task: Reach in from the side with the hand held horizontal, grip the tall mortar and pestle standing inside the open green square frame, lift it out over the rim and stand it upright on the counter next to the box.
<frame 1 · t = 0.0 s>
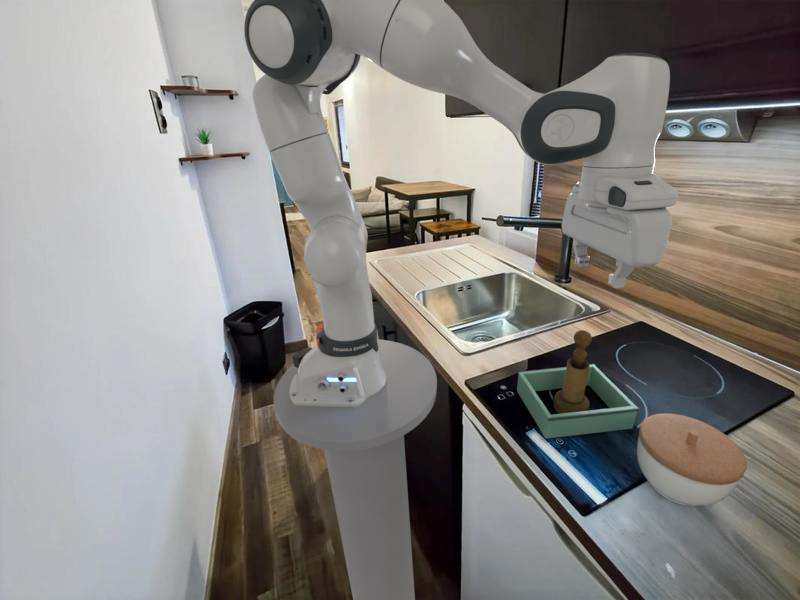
hand: (597, 275, 58), 31 cm above the worktop, tool pointing down, fingers open, 8 cm apart
green square frame: (570, 408, 74), on the worktop
mortar and pestle: (570, 409, 75), resting in green square frame
lidded bowl: (674, 485, 58), on the worktop
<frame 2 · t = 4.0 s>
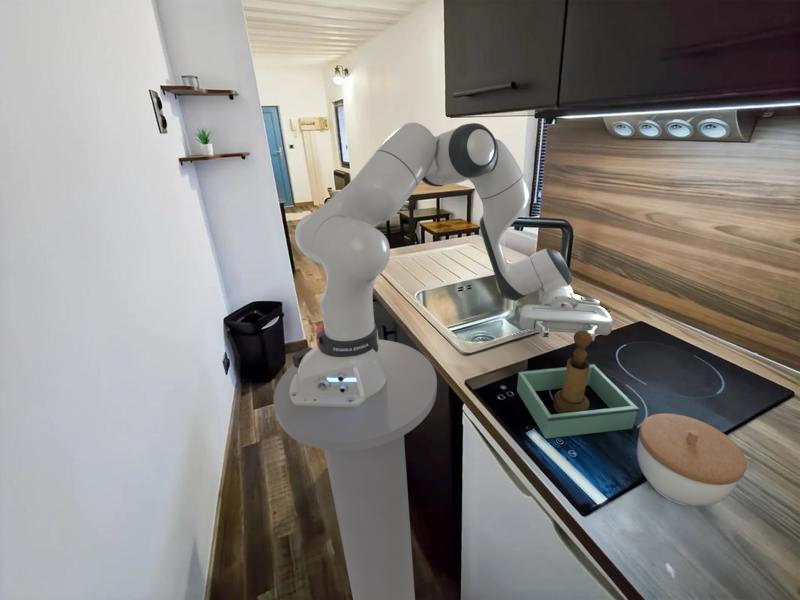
hand: (567, 336, 81), 10 cm above the worktop, tool horizontal, fingers open, 8 cm apart
nothing on the worktop moved.
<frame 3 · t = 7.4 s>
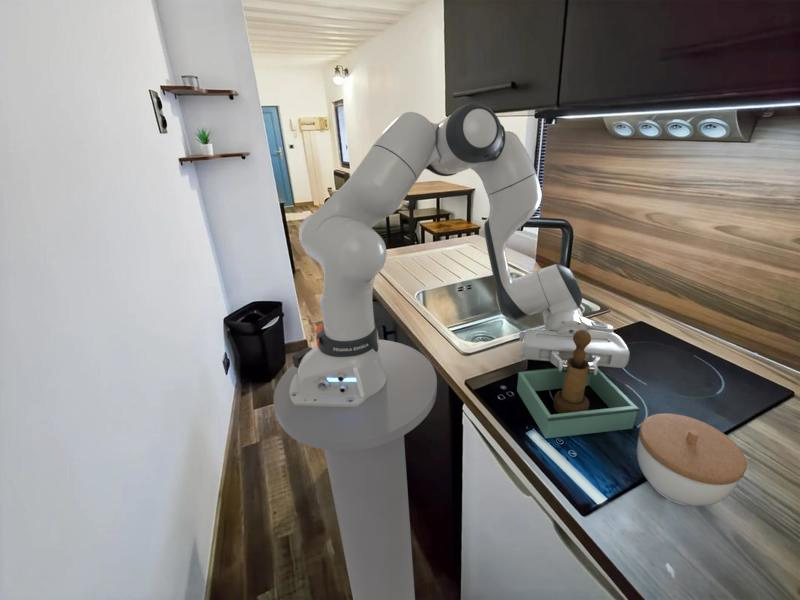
hand: (578, 370, 69), 10 cm above the worktop, tool horizontal, fingers closed on mortar and pestle, 4 cm apart
mortar and pestle: (570, 409, 75), resting in green square frame, touching gripper
everything else where it was.
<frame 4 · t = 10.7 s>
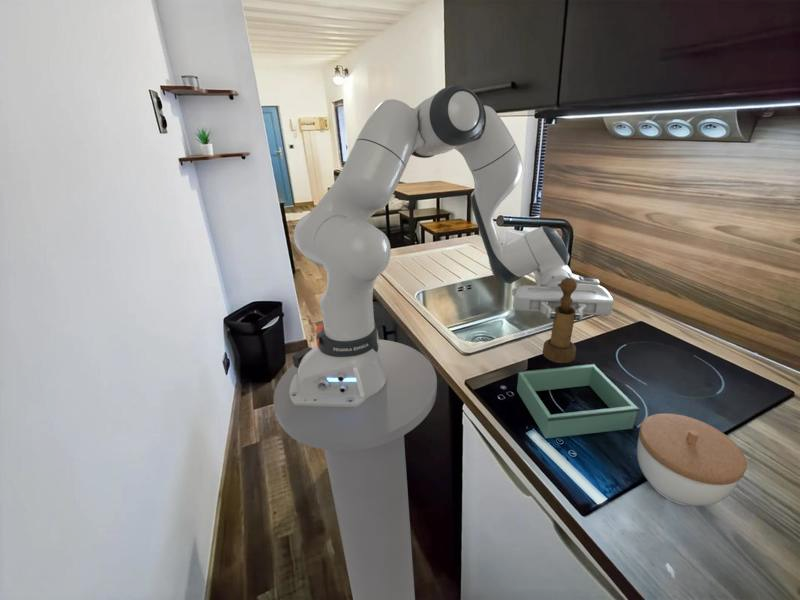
hand: (565, 316, 75), 17 cm above the worktop, tool horizontal, fingers closed on mortar and pestle, 4 cm apart
mortar and pestle: (558, 355, 80), point 7 cm above the worktop, touching gripper
everything else where it was.
when the fingers open (10 cm above the worktop, at t = 13.9 s): mortar and pestle stays where it is, on the worktop.
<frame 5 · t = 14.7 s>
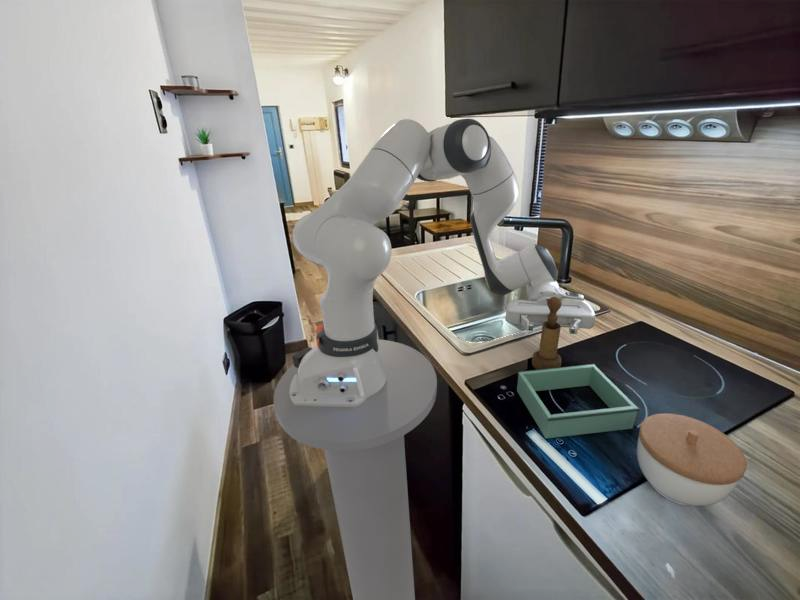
hand: (551, 329, 83), 10 cm above the worktop, tool horizontal, fingers open, 8 cm apart
mortar and pestle: (545, 365, 88), on the worktop
everything else where it was.
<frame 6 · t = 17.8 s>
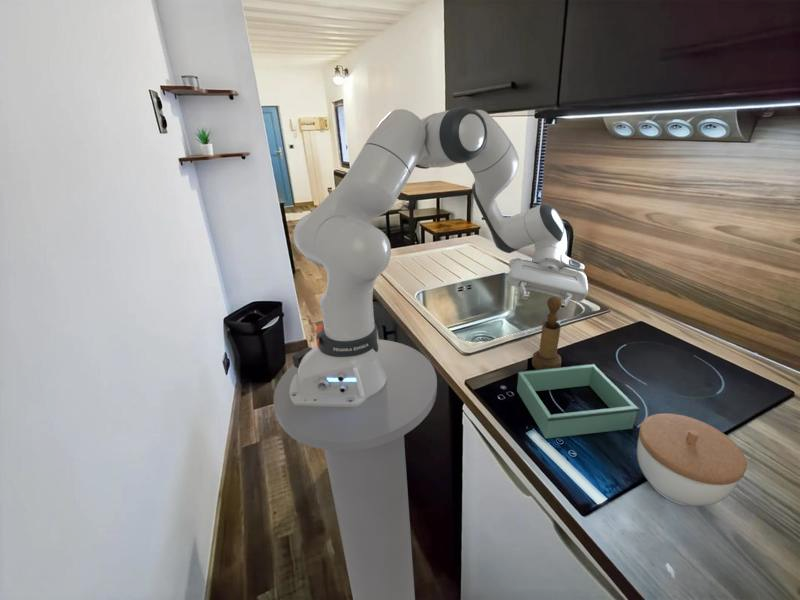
hand: (543, 302, 93), 12 cm above the worktop, tool tilted 65°, fingers open, 8 cm apart
nothing on the worktop moved.
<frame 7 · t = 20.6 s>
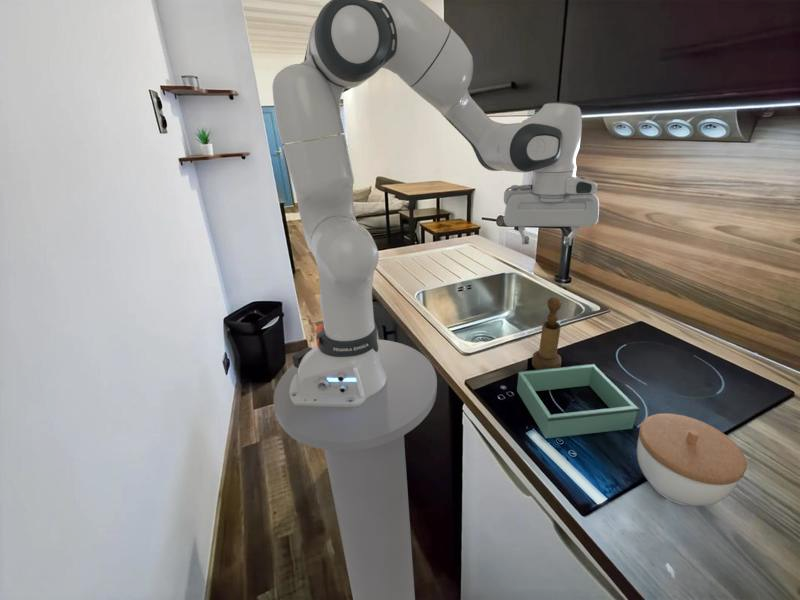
hand: (545, 244, 87), 27 cm above the worktop, tool pointing down, fingers open, 8 cm apart
nothing on the worktop moved.
at the end: mortar and pestle inside the target area (0.1 cm from its centre), on the worktop; mortar and pestle tilted 0°; the gripper is holding nothing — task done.
